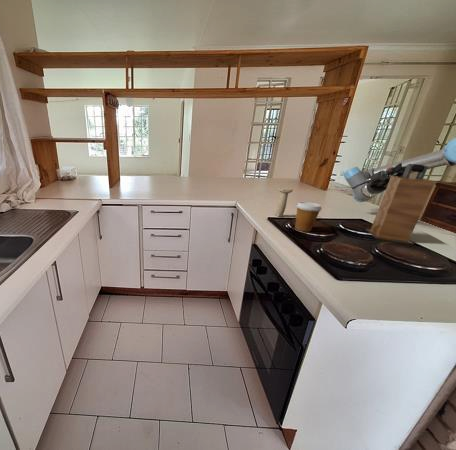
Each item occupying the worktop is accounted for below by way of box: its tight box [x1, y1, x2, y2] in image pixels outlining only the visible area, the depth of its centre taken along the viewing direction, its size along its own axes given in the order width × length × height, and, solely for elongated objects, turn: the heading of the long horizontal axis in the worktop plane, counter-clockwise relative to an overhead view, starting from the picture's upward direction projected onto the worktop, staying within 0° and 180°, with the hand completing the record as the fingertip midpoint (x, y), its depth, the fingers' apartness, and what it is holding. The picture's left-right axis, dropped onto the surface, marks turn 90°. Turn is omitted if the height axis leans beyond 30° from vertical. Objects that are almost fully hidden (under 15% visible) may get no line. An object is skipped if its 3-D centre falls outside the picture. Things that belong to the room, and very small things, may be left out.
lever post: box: [365, 165, 436, 246], centre depth 96 cm, size 12×12×31 cm
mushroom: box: [275, 187, 293, 218], centre depth 124 cm, size 5×6×15 cm
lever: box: [386, 164, 423, 173], centre depth 100 cm, size 22×4×4 cm, turn 157°
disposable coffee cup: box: [294, 201, 322, 233], centre depth 106 cm, size 10×10×12 cm
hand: (405, 166), depth 98 cm, fingers closed on lever, 2 cm apart
